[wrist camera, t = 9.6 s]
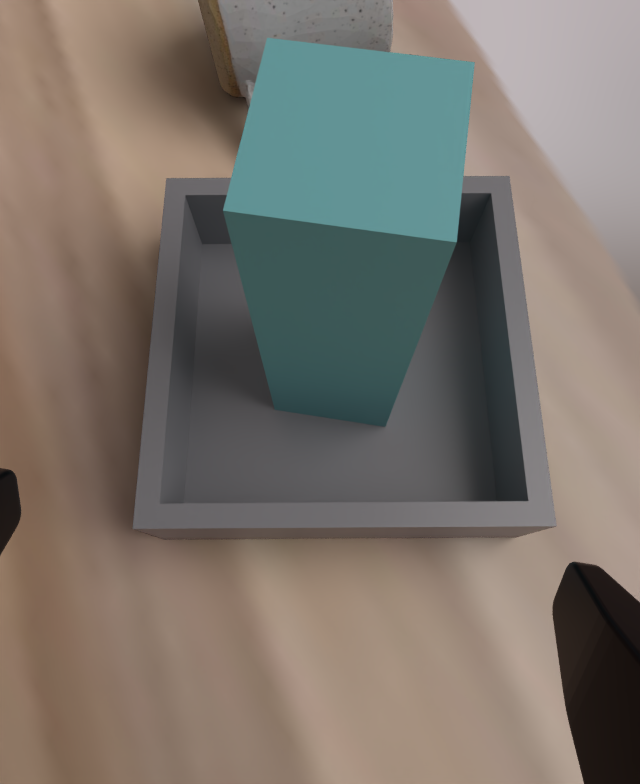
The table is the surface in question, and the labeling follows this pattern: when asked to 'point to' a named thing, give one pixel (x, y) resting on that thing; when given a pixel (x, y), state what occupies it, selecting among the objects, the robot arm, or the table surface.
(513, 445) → the box
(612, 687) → the robot arm
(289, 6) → the ceramic mug
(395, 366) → the handle block
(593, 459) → the table surface
